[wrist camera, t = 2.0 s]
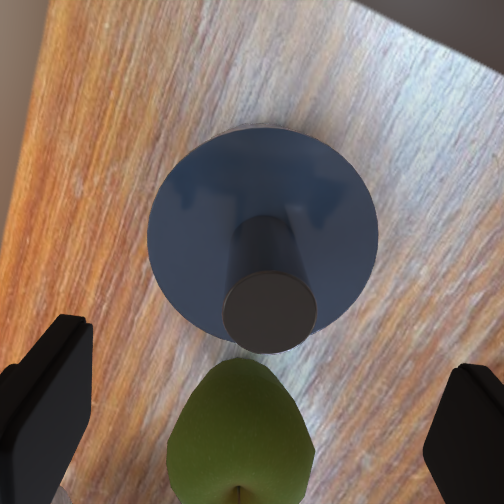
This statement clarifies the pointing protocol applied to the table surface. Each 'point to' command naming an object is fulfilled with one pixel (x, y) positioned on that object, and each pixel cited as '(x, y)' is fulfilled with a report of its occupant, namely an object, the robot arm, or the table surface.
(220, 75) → the table surface
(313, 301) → the lid
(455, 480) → the robot arm
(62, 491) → the grey leafy disc
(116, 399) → the table surface
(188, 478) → the apple
